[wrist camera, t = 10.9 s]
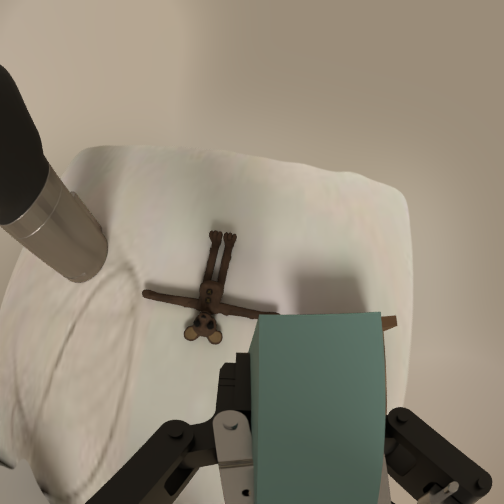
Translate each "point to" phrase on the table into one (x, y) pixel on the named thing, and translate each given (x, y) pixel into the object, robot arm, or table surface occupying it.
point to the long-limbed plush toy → (209, 295)
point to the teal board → (317, 408)
